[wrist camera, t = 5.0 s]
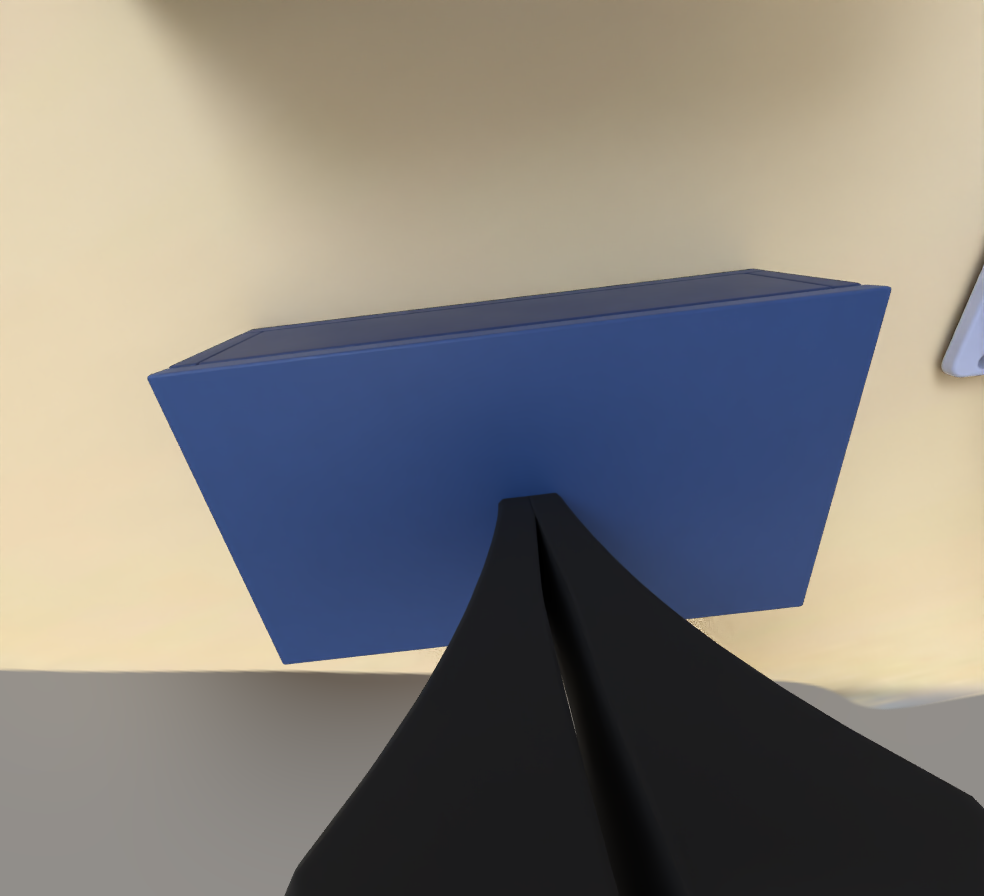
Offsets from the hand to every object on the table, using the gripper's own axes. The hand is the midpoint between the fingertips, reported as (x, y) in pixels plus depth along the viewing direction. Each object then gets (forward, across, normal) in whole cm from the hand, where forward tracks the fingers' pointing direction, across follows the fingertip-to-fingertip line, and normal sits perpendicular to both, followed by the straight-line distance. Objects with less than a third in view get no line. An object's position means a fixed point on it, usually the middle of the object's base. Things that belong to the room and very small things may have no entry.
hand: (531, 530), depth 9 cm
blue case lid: (+1, 0, 0) cm, 1 cm away
